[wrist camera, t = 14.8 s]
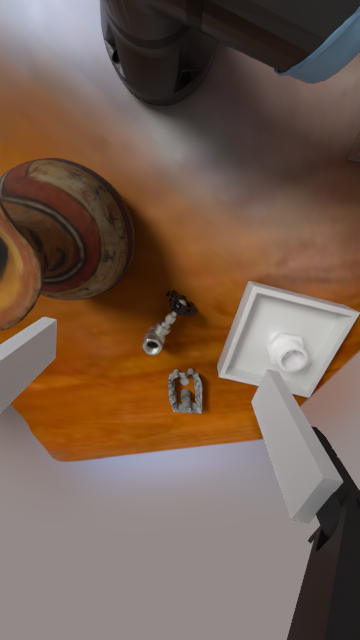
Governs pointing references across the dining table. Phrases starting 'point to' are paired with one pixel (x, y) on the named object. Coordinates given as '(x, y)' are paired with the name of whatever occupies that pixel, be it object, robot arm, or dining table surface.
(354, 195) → the dining table surface
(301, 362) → the pipe fitting
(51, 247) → the brown vase
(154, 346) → the valve
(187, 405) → the grey open frame part
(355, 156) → the tissue box cover
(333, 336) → the tray
